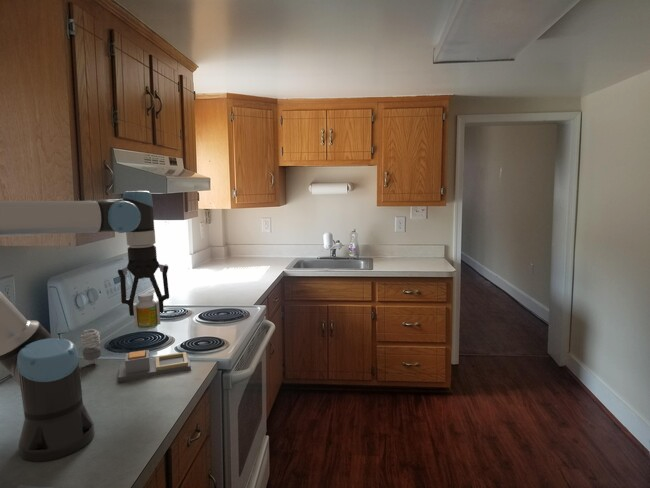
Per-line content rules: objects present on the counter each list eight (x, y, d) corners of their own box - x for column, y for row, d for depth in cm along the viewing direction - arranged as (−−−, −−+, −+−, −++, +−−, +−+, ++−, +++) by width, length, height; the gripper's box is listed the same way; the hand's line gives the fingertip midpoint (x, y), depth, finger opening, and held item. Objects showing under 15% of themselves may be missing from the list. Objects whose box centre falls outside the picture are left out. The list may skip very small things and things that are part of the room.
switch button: (130, 368, 140) (129, 357, 140) (130, 362, 144) (129, 352, 144) (145, 365, 142) (145, 355, 141) (146, 360, 146) (145, 350, 145)
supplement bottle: (153, 330, 129) (151, 296, 128) (134, 330, 129) (132, 297, 128) (160, 324, 135) (158, 292, 133) (142, 324, 135) (140, 292, 133)
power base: (118, 382, 136) (117, 364, 136) (120, 368, 147) (119, 352, 146) (191, 370, 144) (189, 353, 143) (188, 357, 154) (187, 342, 153)
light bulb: (106, 360, 153) (102, 326, 151) (96, 367, 147) (92, 332, 146) (90, 360, 153) (86, 326, 152) (79, 367, 148) (75, 332, 146)
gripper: (175, 241, 135) (180, 316, 139) (107, 246, 129) (114, 324, 132) (176, 245, 128) (181, 324, 132) (104, 249, 122) (112, 332, 125)
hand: (147, 324), depth 132 cm, fingers closed on supplement bottle, 5 cm apart
